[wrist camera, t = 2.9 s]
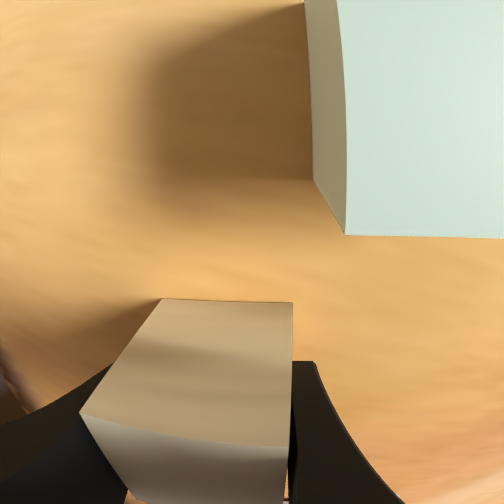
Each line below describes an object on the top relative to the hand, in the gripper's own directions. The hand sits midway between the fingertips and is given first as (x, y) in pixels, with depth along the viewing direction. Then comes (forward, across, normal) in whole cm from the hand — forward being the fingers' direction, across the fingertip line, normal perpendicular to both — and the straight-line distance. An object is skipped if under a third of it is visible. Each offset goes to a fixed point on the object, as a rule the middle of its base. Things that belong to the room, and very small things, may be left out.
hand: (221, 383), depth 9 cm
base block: (+2, -5, -8) cm, 10 cm away
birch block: (+1, 0, 0) cm, 1 cm away
